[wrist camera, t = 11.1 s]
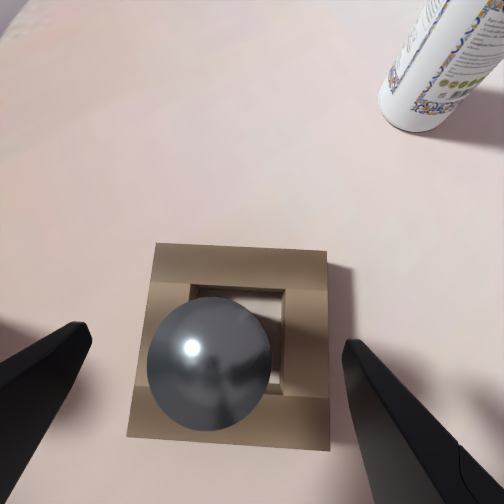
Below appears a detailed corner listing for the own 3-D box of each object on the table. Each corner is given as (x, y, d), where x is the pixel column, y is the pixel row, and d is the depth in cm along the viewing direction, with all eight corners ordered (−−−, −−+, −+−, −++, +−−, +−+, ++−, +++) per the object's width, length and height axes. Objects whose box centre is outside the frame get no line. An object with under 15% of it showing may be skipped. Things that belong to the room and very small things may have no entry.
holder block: (319, 431, 19) (330, 451, 16) (145, 419, 19) (126, 437, 16) (317, 259, 22) (326, 250, 19) (168, 252, 23) (156, 242, 20)
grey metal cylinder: (261, 362, 20) (269, 435, 8) (210, 359, 20) (137, 427, 8) (263, 310, 21) (273, 299, 9) (215, 308, 21) (156, 293, 9)
